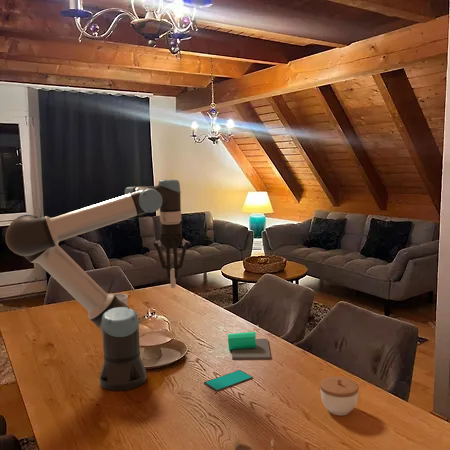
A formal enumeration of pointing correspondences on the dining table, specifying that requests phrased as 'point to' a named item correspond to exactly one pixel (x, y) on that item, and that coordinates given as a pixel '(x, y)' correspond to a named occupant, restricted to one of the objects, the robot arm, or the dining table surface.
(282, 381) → the dining table surface
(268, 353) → the mat
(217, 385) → the smartphone
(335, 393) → the lidded jar
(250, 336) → the candle
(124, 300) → the ramekin
